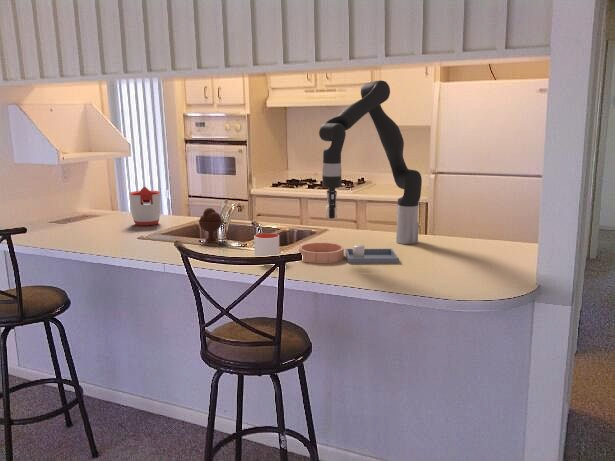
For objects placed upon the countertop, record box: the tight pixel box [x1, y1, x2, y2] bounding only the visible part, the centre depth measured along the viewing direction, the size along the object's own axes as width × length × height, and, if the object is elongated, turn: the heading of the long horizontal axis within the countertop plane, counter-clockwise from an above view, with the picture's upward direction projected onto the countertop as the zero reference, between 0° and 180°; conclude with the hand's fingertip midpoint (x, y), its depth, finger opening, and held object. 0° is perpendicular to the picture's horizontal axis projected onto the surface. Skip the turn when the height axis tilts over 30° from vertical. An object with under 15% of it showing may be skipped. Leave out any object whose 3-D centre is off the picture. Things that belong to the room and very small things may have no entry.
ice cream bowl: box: [198, 207, 223, 243], centre depth 259 cm, size 11×11×15 cm
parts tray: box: [344, 248, 399, 264], centre depth 227 cm, size 20×16×2 cm
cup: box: [253, 232, 280, 257], centre depth 226 cm, size 10×10×10 cm
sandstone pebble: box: [325, 204, 338, 220], centre depth 225 cm, size 5×5×5 cm
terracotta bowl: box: [298, 241, 345, 264], centre depth 228 cm, size 18×18×4 cm
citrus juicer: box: [129, 186, 161, 227], centre depth 295 cm, size 16×17×20 cm
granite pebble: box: [352, 244, 365, 258], centre depth 226 cm, size 5×5×5 cm
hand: (331, 216), depth 225 cm, fingers closed on sandstone pebble, 4 cm apart
